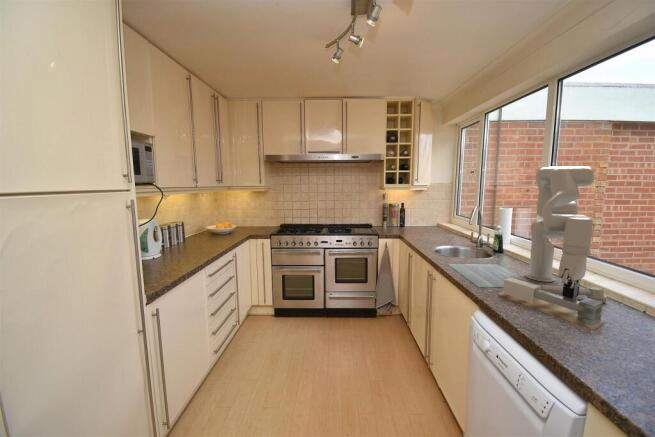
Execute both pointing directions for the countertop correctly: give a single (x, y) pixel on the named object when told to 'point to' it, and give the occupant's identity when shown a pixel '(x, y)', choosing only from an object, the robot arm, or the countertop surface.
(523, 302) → the stand
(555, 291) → the electric toothbrush handle
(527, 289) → the sleeve
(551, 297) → the grey l-shaped piece
